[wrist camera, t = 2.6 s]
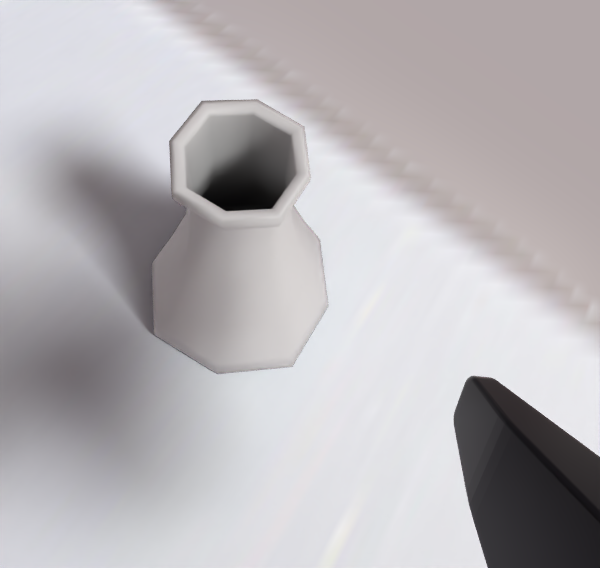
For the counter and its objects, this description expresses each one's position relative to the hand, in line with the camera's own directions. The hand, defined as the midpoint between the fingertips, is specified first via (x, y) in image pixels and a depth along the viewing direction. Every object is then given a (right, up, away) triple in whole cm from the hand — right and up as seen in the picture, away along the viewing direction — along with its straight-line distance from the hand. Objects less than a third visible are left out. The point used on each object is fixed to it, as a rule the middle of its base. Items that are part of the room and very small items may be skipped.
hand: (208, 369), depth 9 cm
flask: (-1, +1, +12) cm, 12 cm away
